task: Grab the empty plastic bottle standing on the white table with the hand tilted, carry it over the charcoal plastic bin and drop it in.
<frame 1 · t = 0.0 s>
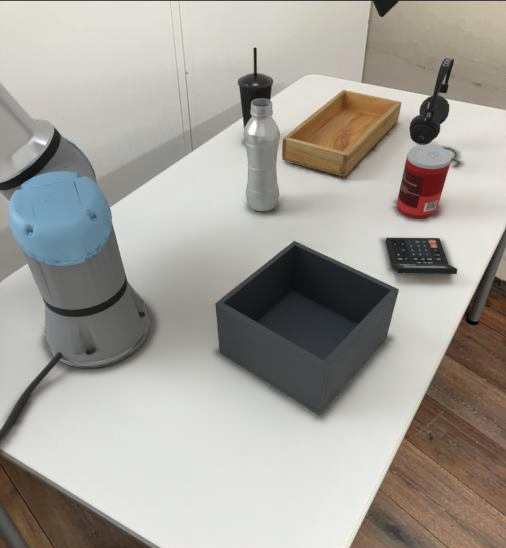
plastic bottle: (262, 206, 101), on the table
bin: (303, 345, 75), on the table
tray: (342, 143, 118), on the table
drinking cup: (256, 142, 119), on the table
canned food: (416, 208, 99), on the table
calculator: (417, 263, 88), on the table
headphones: (432, 161, 112), on the table
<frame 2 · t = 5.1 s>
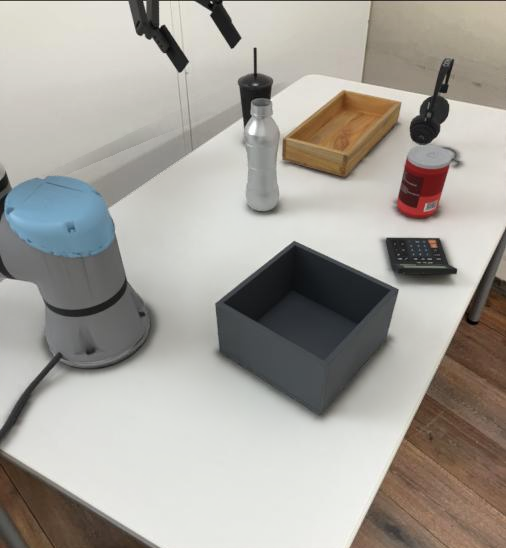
hand: (211, 55, 87), 25 cm above the table, tool tilted 45°, fingers open, 13 cm apart
nothing on the table moved.
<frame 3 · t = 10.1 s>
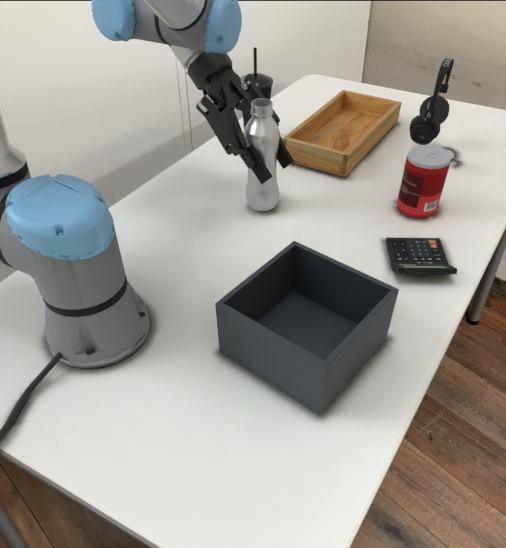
hand: (278, 172, 93), 8 cm above the table, tool tilted 45°, fingers closed on plastic bottle, 6 cm apart
plastic bottle: (262, 206, 101), on the table, touching gripper
everything else where it was.
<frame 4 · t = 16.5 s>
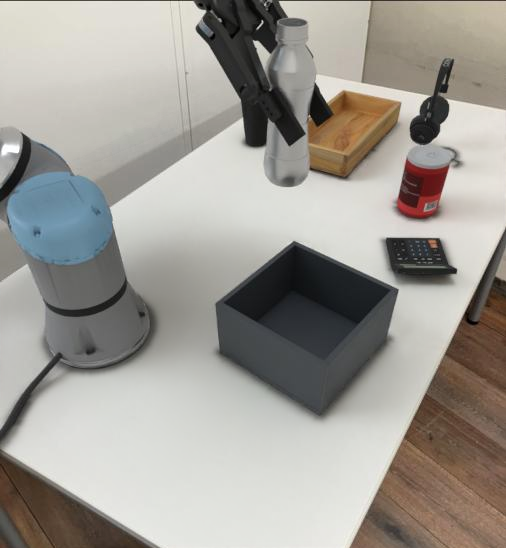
hand: (311, 130, 65), 26 cm above the table, tool tilted 45°, fingers closed on plastic bottle, 6 cm apart
plastic bottle: (285, 182, 73), point 18 cm above the table, touching gripper
everything else where it was.
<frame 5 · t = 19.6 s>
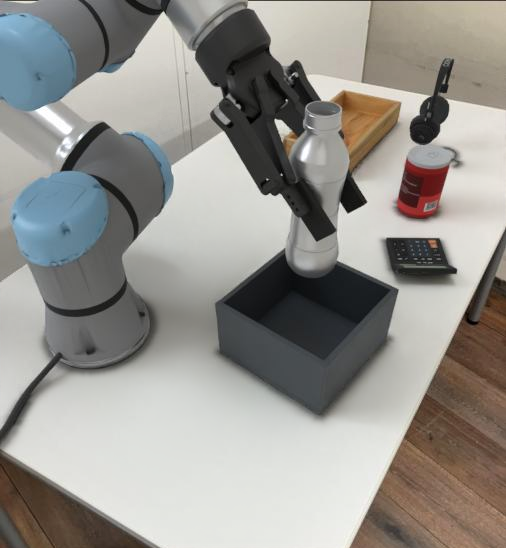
hand: (342, 221, 57), 23 cm above the table, tool tilted 45°, fingers closed on plastic bottle, 6 cm apart
plastic bottle: (310, 268, 65), point 14 cm above the table, touching gripper
everything else where it was.
when the fingers open (13 cm above the table, at t = 22.7 s): plastic bottle drops 4 cm, resting on bin.
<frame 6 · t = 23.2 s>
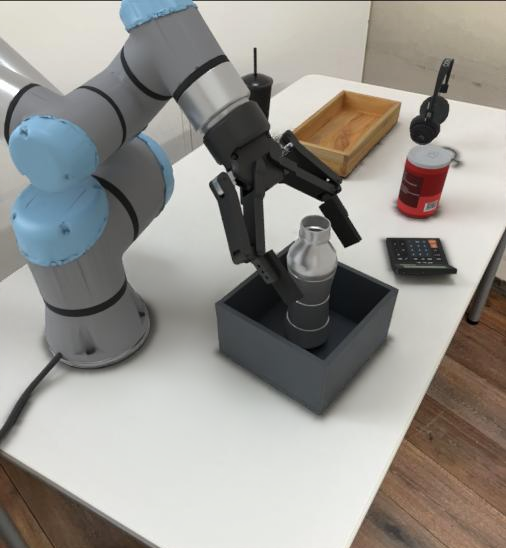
hand: (326, 270, 63), 15 cm above the table, tool tilted 45°, fingers open, 13 cm apart
plastic bottle: (305, 339, 75), point 1 cm above the table, touching bin
everything else where it was.
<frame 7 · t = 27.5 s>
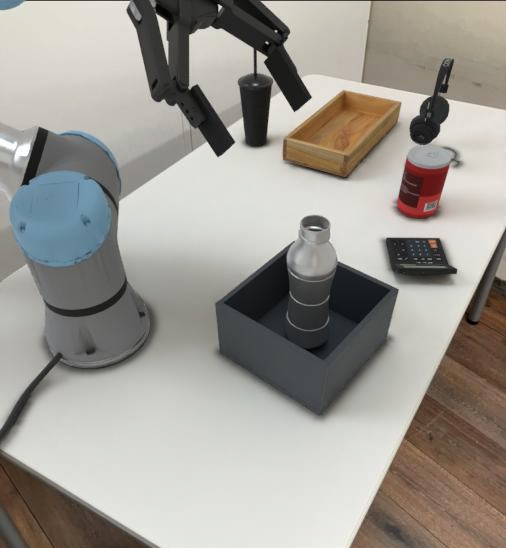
hand: (267, 126, 56), 31 cm above the table, tool tilted 45°, fingers open, 13 cm apart
nothing on the table moved.
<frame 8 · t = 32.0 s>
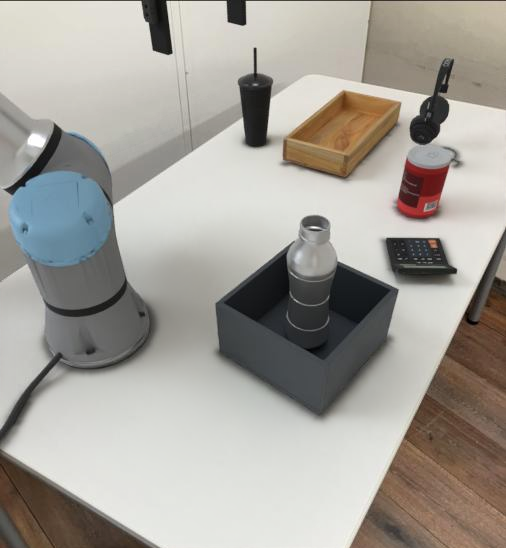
hand: (201, 37, 65), 35 cm above the table, tool pointing down, fingers open, 13 cm apart
nothing on the table moved.
at the end: plastic bottle inside the target area in the bin (0.7 cm from its centre), point 0.6 cm above the bin's base; the gripper is holding nothing; plastic bottle moved 36.9 cm from its start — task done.
